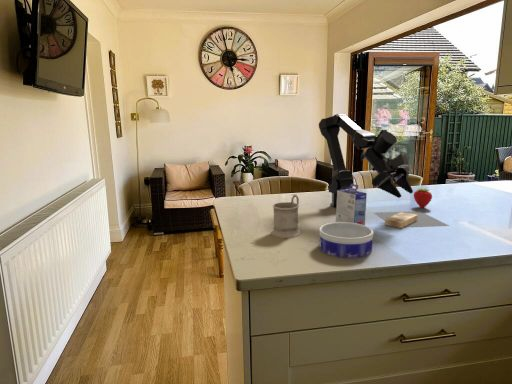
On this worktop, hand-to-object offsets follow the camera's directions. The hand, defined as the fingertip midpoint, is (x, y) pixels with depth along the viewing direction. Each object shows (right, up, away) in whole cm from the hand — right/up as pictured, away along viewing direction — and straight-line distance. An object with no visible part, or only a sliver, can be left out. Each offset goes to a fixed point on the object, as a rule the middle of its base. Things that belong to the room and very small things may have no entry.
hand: (406, 194), depth 126 cm
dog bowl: (-27, -16, -20) cm, 37 cm away
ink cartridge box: (-19, -11, +3) cm, 22 cm away
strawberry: (+16, -6, +23) cm, 28 cm away
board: (+4, -8, +7) cm, 11 cm away
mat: (+4, -9, +7) cm, 12 cm away
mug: (-42, -13, -3) cm, 44 cm away
